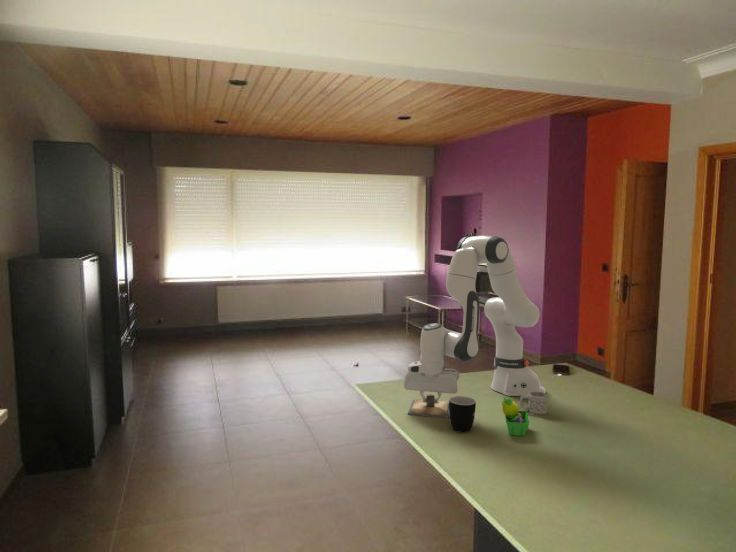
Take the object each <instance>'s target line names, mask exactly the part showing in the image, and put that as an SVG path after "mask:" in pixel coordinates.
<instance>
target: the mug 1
mask: <svg viewBox="0 0 736 552" xmlns="http://www.w3.org/2000/svg"><path fill="white" fill-rule="evenodd" d="M448 402H449V422H450V428H451V429H452V430H453V431H455V432H457V433H469V432H470V431H471V430H472V428H473V426H474V423H475V416H476V407H477V405H476V403H477V402H476V399H474V398H472V397H468V396H462V395H461V396H460V395H459V396H452V397H450V398H449V399H448Z"/></svg>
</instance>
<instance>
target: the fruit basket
mask: <svg viewBox="0 0 736 552" xmlns="http://www.w3.org/2000/svg"><path fill="white" fill-rule="evenodd" d="M501 402H502V403H501V405H502V412H503V415H504V416H505V423H506V426H507V430H508V435H509V436H511V435H512V436H521V437H525V436H526V433H527V430H528V427H529V426H530V419H529V414H528V412H527V411H525V410H520V405H519V404H517V403H516V402H514V401H513V400H512V399H511V398H510V397H504V398H503V400H502V401H501Z"/></svg>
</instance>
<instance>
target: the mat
mask: <svg viewBox="0 0 736 552" xmlns="http://www.w3.org/2000/svg"><path fill="white" fill-rule="evenodd" d="M414 401H415V399H412V402H411V404H410V407H409V409H408V411H407V415H410V416H419V417H421V416H422V417H423V416H424V417H430V418H431V417H433V418H443V419H450V415H449V405H448V410H447V416H445V415H434V414H423V413H412V412H411V409H412V407H413V404H414Z"/></svg>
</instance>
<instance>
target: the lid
mask: <svg viewBox="0 0 736 552" xmlns="http://www.w3.org/2000/svg"><path fill="white" fill-rule="evenodd" d="M426 397H427V402H426V403H425V402H423V398H422V399H419V398H414V400H415V401H414V404H413V407H412V409H411V412H412V413H423V414H434V415H445V416H447V410H448V405H449V401H443V400H438V404H436V403H434V399H435V398H436V397H435V394H427V395H426Z"/></svg>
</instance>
